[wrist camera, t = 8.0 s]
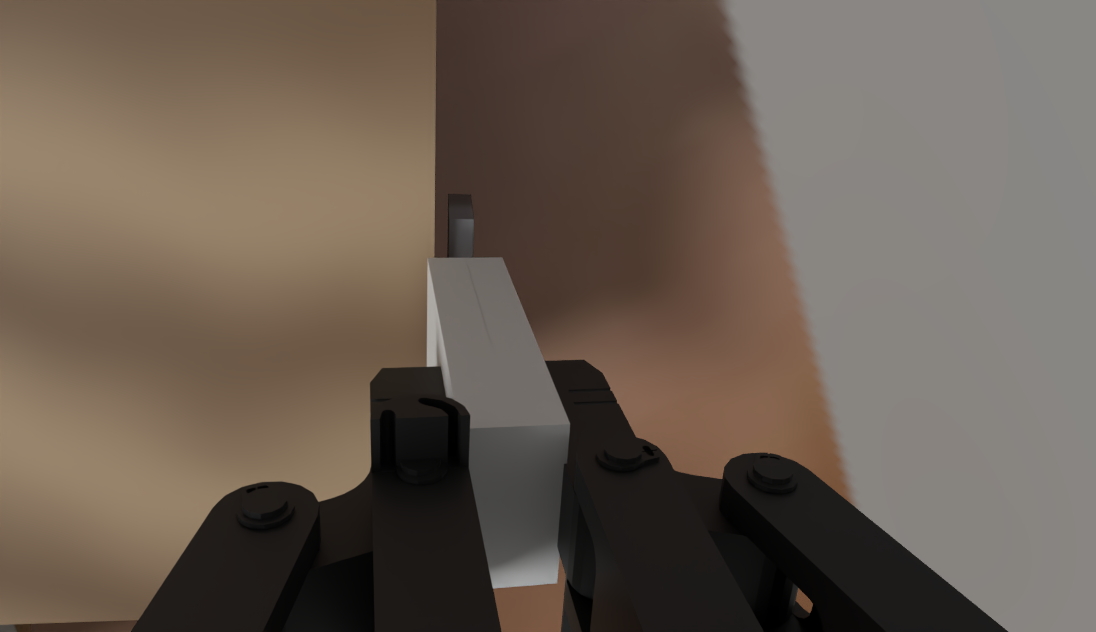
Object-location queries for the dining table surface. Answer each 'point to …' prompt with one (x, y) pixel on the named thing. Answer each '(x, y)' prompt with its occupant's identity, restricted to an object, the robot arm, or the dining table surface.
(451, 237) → the lid
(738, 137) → the dining table surface
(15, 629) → the vase
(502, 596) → the dining table surface
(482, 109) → the dining table surface
